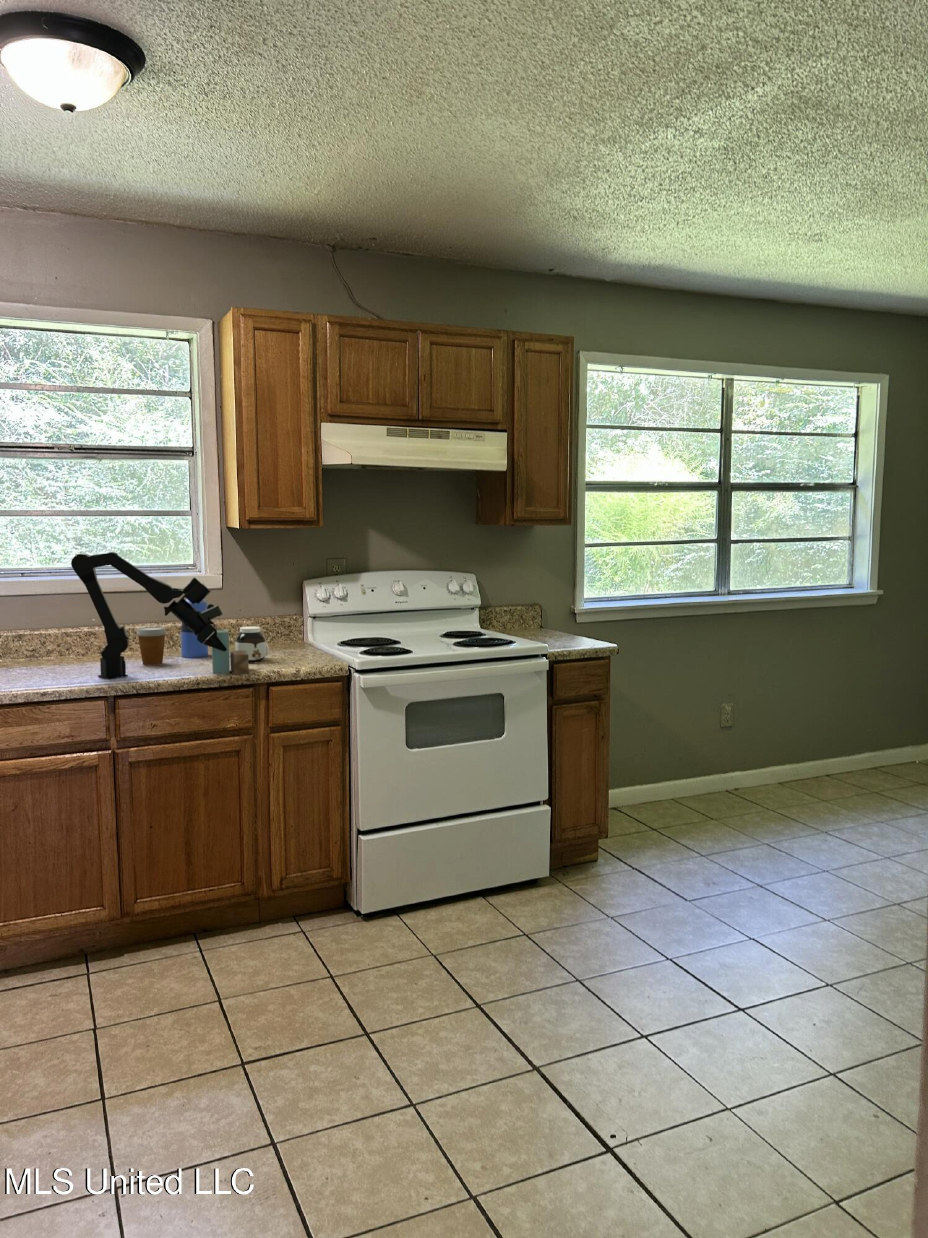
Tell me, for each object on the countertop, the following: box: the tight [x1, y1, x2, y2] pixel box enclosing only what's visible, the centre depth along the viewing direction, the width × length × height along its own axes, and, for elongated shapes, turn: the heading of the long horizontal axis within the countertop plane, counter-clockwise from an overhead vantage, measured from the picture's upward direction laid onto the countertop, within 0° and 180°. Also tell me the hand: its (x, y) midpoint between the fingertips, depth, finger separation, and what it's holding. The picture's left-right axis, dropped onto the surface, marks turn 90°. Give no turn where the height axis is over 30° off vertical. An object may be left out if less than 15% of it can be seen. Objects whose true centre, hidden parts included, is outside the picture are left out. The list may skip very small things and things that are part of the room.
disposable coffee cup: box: [136, 626, 168, 666], centre depth 309 cm, size 10×10×12 cm
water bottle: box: [180, 598, 209, 659], centre depth 325 cm, size 9×9×25 cm
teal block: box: [211, 629, 231, 675], centre depth 294 cm, size 5×5×13 cm
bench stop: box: [229, 650, 250, 675], centre depth 296 cm, size 5×10×6 cm, turn 17°
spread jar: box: [234, 625, 270, 664], centre depth 317 cm, size 12×11×12 cm
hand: (225, 648), depth 294 cm, fingers open, 9 cm apart
